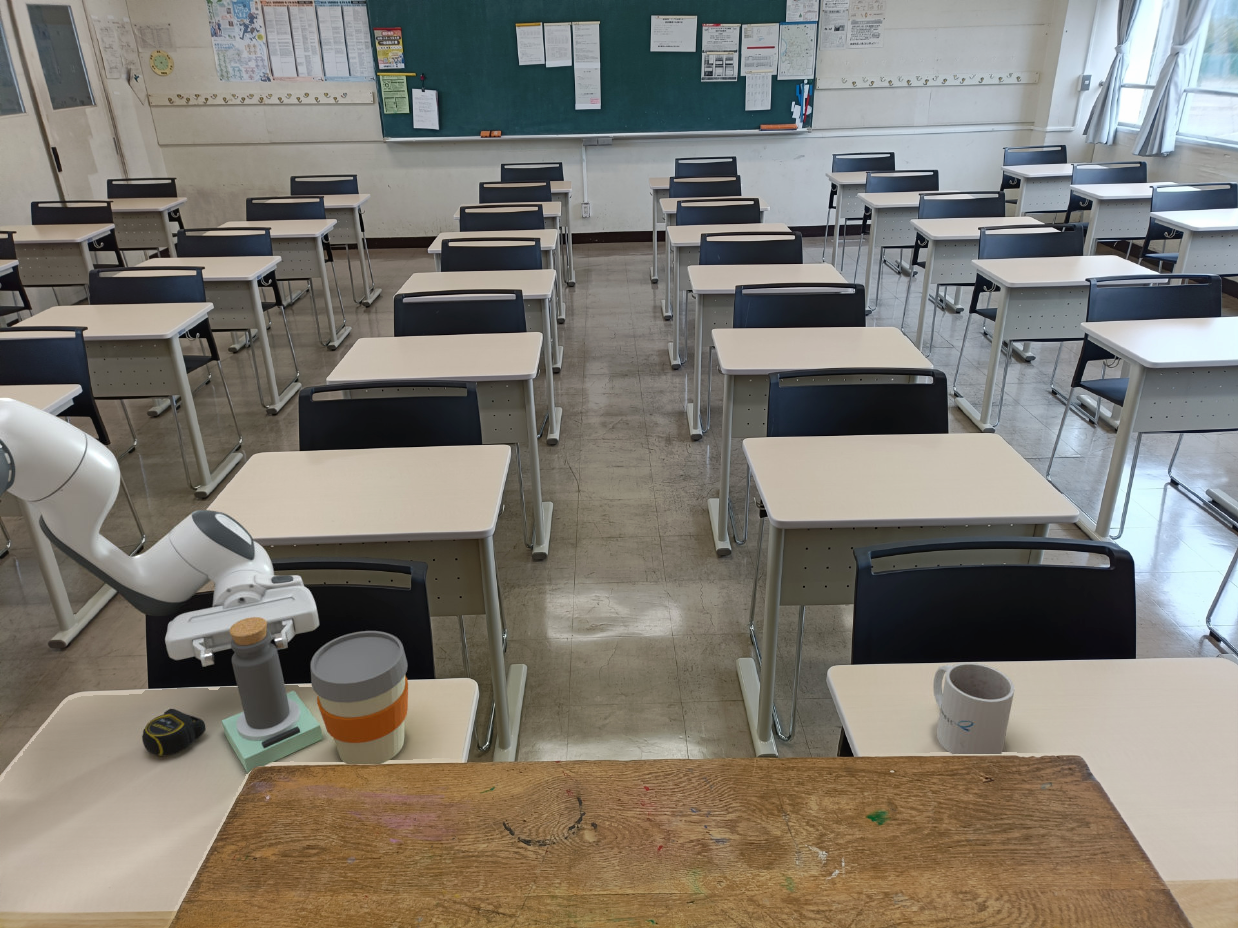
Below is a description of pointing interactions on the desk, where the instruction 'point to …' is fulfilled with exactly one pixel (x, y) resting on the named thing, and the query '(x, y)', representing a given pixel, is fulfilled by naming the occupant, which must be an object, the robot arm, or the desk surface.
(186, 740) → the tape measure
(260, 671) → the bottle
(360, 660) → the reusable coffee cup
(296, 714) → the scale
